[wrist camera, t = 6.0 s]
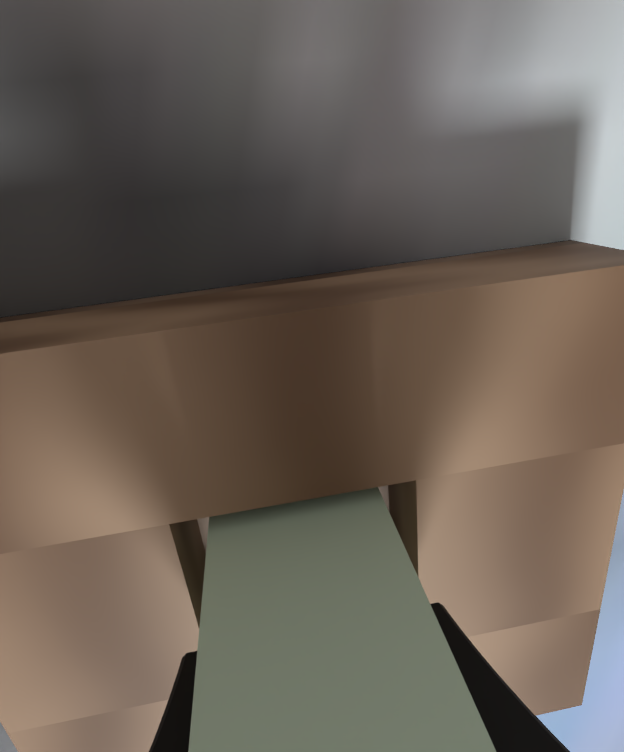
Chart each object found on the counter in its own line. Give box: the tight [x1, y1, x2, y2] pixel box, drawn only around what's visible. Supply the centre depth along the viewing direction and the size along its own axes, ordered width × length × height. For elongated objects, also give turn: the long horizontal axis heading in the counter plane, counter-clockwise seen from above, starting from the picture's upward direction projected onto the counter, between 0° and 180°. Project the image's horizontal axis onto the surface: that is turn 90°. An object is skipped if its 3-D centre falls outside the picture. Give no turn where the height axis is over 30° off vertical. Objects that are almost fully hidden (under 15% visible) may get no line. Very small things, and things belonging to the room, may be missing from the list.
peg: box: [188, 487, 496, 752], centre depth 9 cm, size 4×4×9 cm
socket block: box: [0, 240, 624, 752], centre depth 13 cm, size 16×14×3 cm
